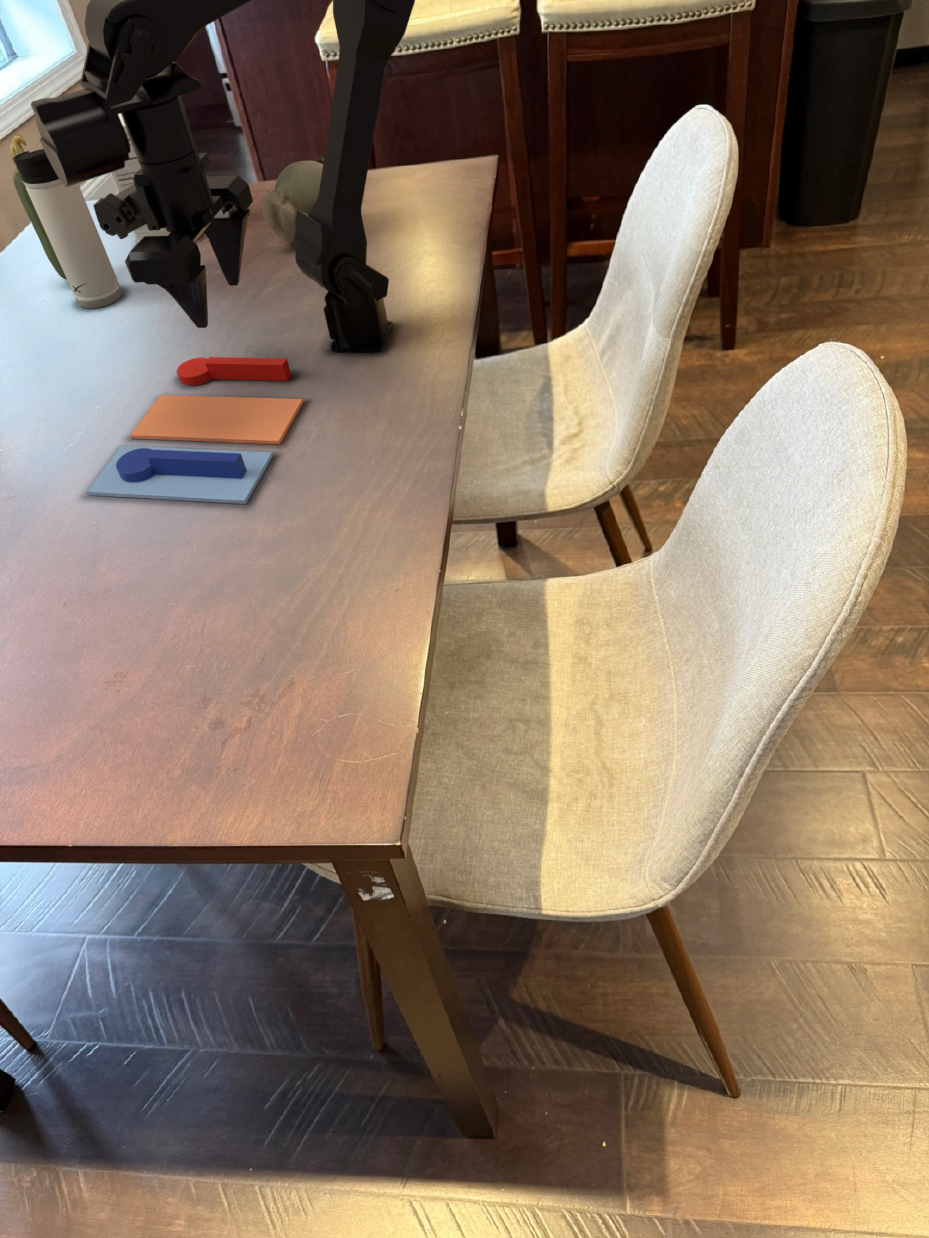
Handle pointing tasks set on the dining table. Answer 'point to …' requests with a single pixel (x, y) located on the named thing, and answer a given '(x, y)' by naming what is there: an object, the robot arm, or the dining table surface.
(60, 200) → the travel mug
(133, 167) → the supplement box
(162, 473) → the blue spoon
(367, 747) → the dining table surface
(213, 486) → the blue mat
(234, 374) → the red spoon
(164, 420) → the terracotta mat
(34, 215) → the vegetable
